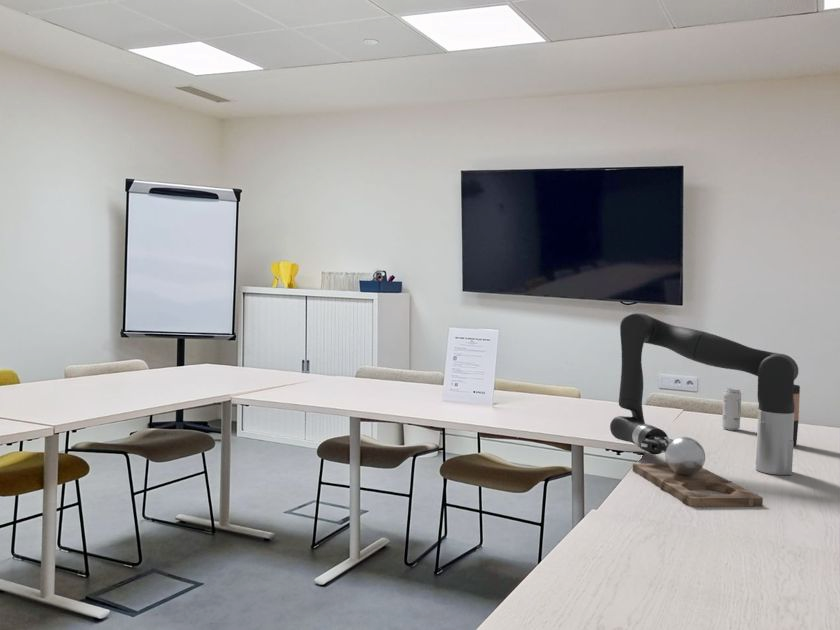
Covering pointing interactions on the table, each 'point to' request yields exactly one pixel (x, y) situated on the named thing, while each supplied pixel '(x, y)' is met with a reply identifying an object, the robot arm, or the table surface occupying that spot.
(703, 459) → the steel ball
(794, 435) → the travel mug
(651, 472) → the wooden board
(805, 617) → the table surface
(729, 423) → the energy drink can
